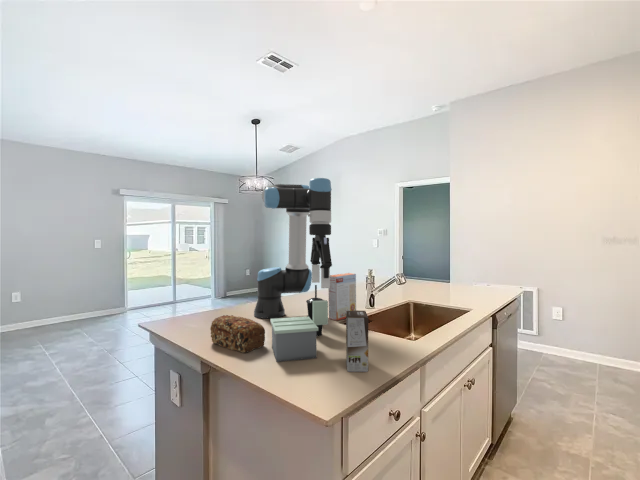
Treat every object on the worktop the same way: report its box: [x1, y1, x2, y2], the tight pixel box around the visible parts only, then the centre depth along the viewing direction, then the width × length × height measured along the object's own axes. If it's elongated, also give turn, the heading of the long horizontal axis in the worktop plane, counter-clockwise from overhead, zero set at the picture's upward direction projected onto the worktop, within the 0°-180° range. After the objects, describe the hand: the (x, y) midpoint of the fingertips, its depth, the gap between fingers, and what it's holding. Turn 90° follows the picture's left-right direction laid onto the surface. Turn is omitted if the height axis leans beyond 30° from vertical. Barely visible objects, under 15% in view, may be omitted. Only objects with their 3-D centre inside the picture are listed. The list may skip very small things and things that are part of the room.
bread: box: [209, 314, 266, 354], centre depth 119 cm, size 19×11×10 cm, turn 54°
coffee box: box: [345, 309, 369, 373], centre depth 100 cm, size 9×6×16 cm
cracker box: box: [327, 272, 357, 321], centre depth 158 cm, size 14×6×21 cm, turn 133°
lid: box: [269, 299, 329, 334], centre depth 112 cm, size 15×19×8 cm
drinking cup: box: [306, 284, 324, 338], centre depth 131 cm, size 8×8×20 cm
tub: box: [271, 327, 317, 363], centre depth 111 cm, size 14×13×9 cm
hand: (320, 285), depth 113 cm, fingers open, 13 cm apart
